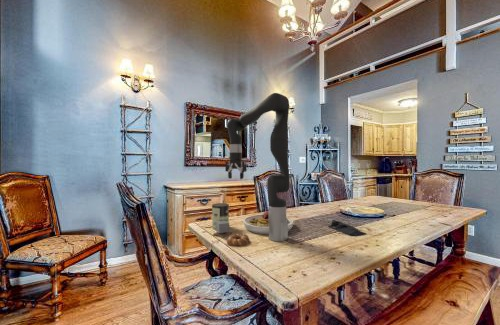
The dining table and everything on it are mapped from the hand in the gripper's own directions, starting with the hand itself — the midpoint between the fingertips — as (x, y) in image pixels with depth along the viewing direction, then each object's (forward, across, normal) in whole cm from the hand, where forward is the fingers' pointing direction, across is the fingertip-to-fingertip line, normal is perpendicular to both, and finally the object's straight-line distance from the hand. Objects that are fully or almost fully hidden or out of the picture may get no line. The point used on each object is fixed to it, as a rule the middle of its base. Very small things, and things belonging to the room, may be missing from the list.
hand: (235, 178), depth 138 cm
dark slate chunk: (+31, -58, -30) cm, 72 cm away
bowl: (+31, -16, -11) cm, 37 cm away
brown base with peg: (+30, -1, +14) cm, 33 cm away
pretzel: (+31, -16, +19) cm, 39 cm away
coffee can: (+30, +9, +4) cm, 32 cm away
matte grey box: (+28, -1, +14) cm, 31 cm away
